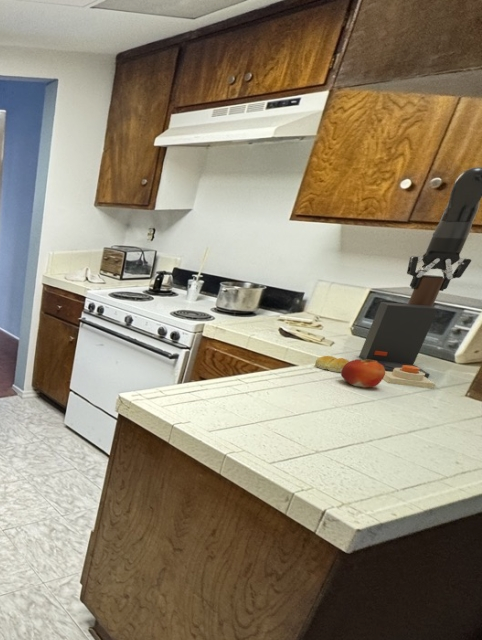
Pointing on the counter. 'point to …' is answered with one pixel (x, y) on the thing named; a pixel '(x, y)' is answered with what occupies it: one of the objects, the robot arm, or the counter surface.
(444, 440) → the counter surface
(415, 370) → the power button
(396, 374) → the switch block
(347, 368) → the tomato
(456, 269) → the robot arm
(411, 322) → the dark grey orange-tab panel
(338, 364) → the bread roll
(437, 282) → the brown wooden block
